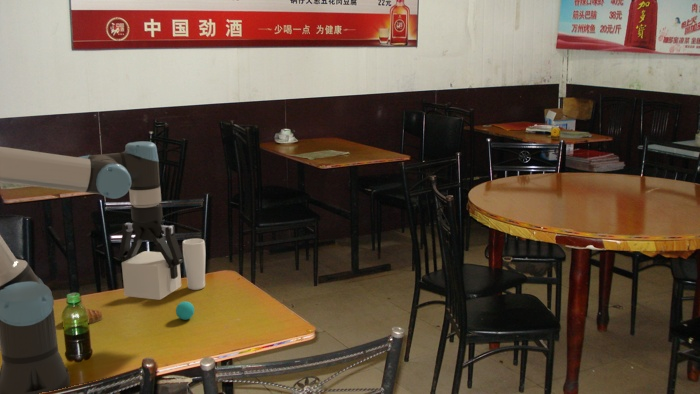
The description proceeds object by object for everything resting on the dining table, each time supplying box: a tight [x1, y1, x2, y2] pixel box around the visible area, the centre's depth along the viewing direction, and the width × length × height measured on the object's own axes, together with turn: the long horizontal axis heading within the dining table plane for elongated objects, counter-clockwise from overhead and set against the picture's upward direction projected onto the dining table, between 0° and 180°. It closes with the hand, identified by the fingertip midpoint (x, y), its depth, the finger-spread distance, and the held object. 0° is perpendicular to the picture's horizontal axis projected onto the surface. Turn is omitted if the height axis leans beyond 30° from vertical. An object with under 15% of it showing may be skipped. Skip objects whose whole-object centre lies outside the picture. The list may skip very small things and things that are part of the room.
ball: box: [175, 301, 195, 321], centre depth 208 cm, size 5×5×5 cm
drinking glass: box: [182, 237, 206, 291], centre depth 232 cm, size 7×7×15 cm
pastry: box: [85, 308, 103, 325], centre depth 208 cm, size 9×7×4 cm
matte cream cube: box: [121, 250, 182, 301], centre depth 191 cm, size 10×10×9 cm
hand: (153, 288), depth 192 cm, fingers closed on matte cream cube, 10 cm apart
